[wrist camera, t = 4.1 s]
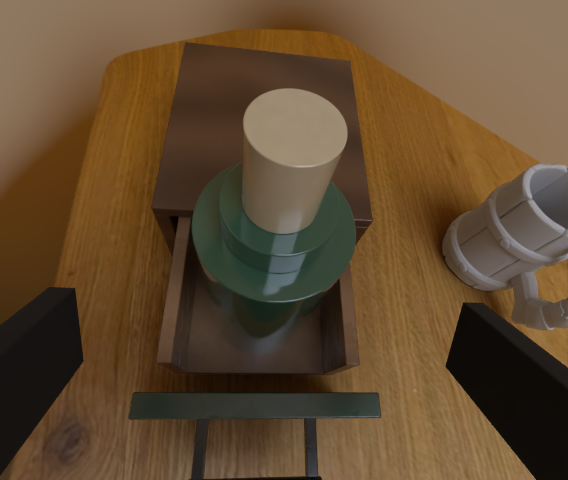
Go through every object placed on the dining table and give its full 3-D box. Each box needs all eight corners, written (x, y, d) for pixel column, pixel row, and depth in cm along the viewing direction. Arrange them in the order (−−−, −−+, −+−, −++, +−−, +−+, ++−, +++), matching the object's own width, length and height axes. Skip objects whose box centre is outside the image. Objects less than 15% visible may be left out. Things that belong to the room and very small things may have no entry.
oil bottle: (202, 344, 23) (122, 200, 7) (225, 259, 26) (207, 24, 10) (295, 363, 24) (419, 263, 7) (307, 276, 27) (416, 72, 10)
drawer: (349, 489, 22) (394, 521, 16) (146, 495, 20) (106, 533, 14) (330, 231, 30) (354, 185, 24) (186, 223, 29) (172, 172, 23)
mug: (495, 217, 34) (611, 131, 24) (552, 335, 29) (732, 293, 19) (427, 223, 33) (517, 134, 22) (474, 347, 28) (621, 310, 17)
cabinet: (337, 270, 29) (373, 221, 22) (175, 264, 28) (150, 207, 20) (326, 134, 37) (350, 60, 29) (196, 123, 35) (184, 41, 27)
